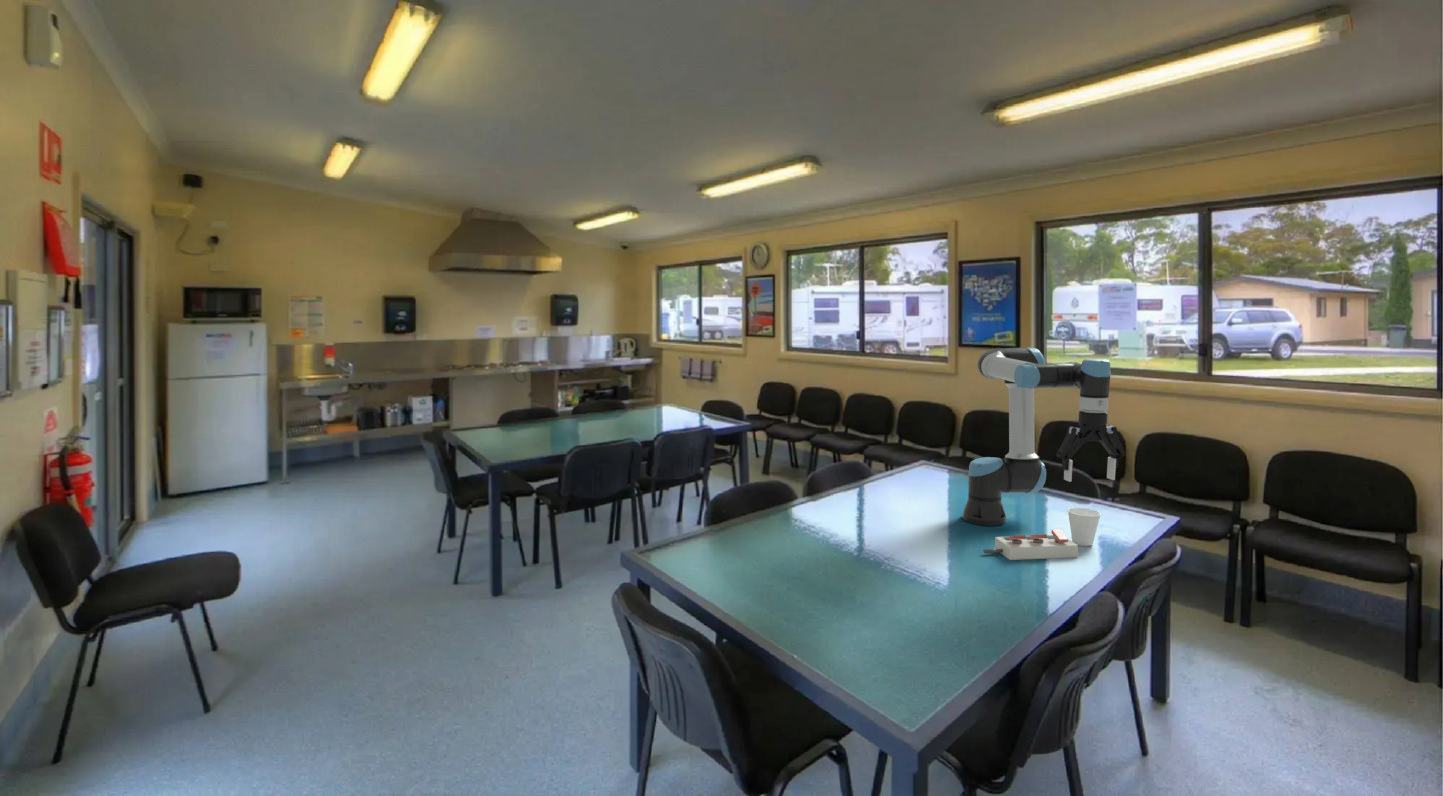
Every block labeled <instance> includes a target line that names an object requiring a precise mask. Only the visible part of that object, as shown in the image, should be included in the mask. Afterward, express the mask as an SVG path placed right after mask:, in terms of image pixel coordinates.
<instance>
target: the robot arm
mask: <svg viewBox="0 0 1443 796" xmlns="http://www.w3.org/2000/svg"><path fill="white" fill-rule="evenodd" d="M977 370H978V372H979V374H980V375H981V376H982V377H984V378H987V379H990V380H1004V385H1005V386H1006V387H1007V388H1008V420H1009V421H1008V425H1009V426H1008V433H1009V434H1008V436H1009V437H1008V440H1009V441H1008V442H1009V444H1008V445H1009V446H1008V447H1009V450H1008V453H1007V454H1005V456H1004V461H1003V459H1002V458H1000V457H995V456H994V457H991V456H985V457H979V458H975V459H973V460H972V461H970V463H969V465H968V472H967V474H968V486H967V487H968V490H967V491H968V493H967V501H966V503H965V505H964V508H963V511H962V520H964V521H965V522H967V523H969V524H973V525H978V526H986V527H987V526H988V527H991V526H994V527H995V526H1001V525H1005V523H1006V522H1007V515H1006V512H1005V509H1004V506H1003V502H1002V497H1003V496H1002V494H1005V493H1006V494H1008V493H1009V494H1010V493H1011V494H1012V493H1015V494H1017V493H1025V494H1029V493H1035V492H1036V493H1037V492H1039V491H1040V490H1041V489H1042V488H1044V485H1045V484H1046V480H1047V469H1046V465H1045V464H1044V462H1042V461H1041V460H1040V456H1039V455H1037V453H1036V452H1035V450H1036V449H1035V389H1043V388H1044V389H1047V388H1049V389H1050V388H1051V389H1052V388H1053V389H1054V388H1055V389H1057V388H1062V389H1063V388H1065V389H1066V388H1075V389H1076V388H1077V389H1079V404H1078V409H1079V410H1080V411H1078V419H1077V420H1078V421H1077V422H1078V427H1074V426H1068V428H1067V432H1066V435H1065V437H1064V439H1063V440H1062V443H1061V444H1060V446H1059V448H1058V450H1057V452H1056V454H1055V456H1056V457H1058V458H1060V459H1062V463H1061V464H1062V465H1061V466H1062V468H1061V469H1062V470H1063V480H1065V481H1067V482H1069V483H1070V482H1072V479H1073V463H1074V461H1073V460H1072V458H1073V457H1074V455H1075V454H1076V453H1077V452H1078V450H1080V449H1081V447H1082V446H1083V445H1085V444H1086V443H1092V442H1095V443H1098V442H1099V443H1100V444H1101V445H1102V447H1103V448H1104V449H1105V451H1106V452H1107V453H1108V454H1109V455H1110V456H1108V457H1107V466H1106V468H1107V469H1106V479H1109V480H1111V481H1115V480H1116V471H1117V470H1116V469H1118V467H1119V460H1120V459H1121V458H1122V457H1126V452H1125V451H1126V450H1124V447H1123V444H1122V443H1121V440H1120V437H1119V435H1118V428H1117V426H1114V425H1111V424H1109V425H1108V426H1107V424H1108V417H1109V416H1108V415H1109V414H1108V412H1107V411H1108V410H1109V400H1110V399H1109V397H1110V396H1109V395H1110V384H1111V375H1112V371H1111V362H1110V361H1109V359H1103V358H1102V359H1101V358H1084V359H1083V360H1082V361H1081V363H1080V362H1072V361H1071V362H1065V363H1046V361H1045V357H1044V355H1043V354H1042V352H1041V351H1040V350H1039V349H1038V348H1036V347H1024V346H1023V347H1009V348H1008V347H1005V348H1003V347H1002V348H1001V347H997V348H992V349H988V350H987V351H985V352H983V353H982V354H981V355H980V357H979V358H978V360H977ZM1106 433H1107V435H1108V437H1109V440H1110V442H1109V440H1108V438H1107V437H1106V436H1105V435H1106ZM1076 435H1077V436H1076Z"/></svg>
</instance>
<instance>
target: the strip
mask: <svg viewBox="0 0 1443 796" xmlns="http://www.w3.org/2000/svg"><path fill="white" fill-rule="evenodd" d="M994 538H995V540H994V548H989V549H988V548H985V549H983V550H982V553H983V554H994V553H995V554H998V553H999V554H1001V555H1002V556H1004V557H1005V558H1007V559H1008V560H1009V561H1017V560H1020V561H1021V560H1042V559H1043V560H1044V559H1047V560H1048V559H1069V558H1070V559H1071V558H1078V553H1079V552H1078V550H1079V545H1077V544H1075V543H1073V542H1072V540H1070V539H1069V540H1068V542H1062V543H1059V542H1058V541H1057V539H1056V538H1055V537H1054V535H1053V534H1047V538H1042V539H1031V538H1030V535H1025V539H1013V540H1009V536H995V537H994Z"/></svg>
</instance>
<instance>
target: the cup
mask: <svg viewBox="0 0 1443 796" xmlns="http://www.w3.org/2000/svg"><path fill="white" fill-rule="evenodd" d="M1066 511H1067V513H1068V514H1067V515H1068V521H1069V528H1070V533H1071V534H1070V535H1071V541H1072V542H1073V543H1075V544H1077V545H1078V546H1081V547H1090V546H1091V547H1092V545H1094V542H1095V537H1096V533H1097V529H1098V525H1099V521H1100V519H1101V518H1100V517H1101V516H1102V513H1101V512H1100V511H1098V510H1095V509H1093V508H1092V509H1091V508H1086V507H1069V508H1067V509H1066Z"/></svg>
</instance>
